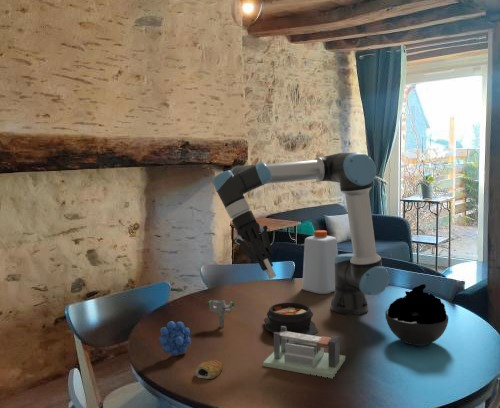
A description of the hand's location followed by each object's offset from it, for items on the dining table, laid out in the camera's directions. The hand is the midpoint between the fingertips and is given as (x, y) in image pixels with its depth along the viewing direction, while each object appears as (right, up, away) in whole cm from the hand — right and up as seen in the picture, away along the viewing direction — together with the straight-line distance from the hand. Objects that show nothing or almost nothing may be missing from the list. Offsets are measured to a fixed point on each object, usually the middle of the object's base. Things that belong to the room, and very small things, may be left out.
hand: (272, 277), depth 162 cm
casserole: (+7, -22, +17) cm, 29 cm away
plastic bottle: (+26, -16, +68) cm, 75 cm away
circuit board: (+9, -25, -11) cm, 29 cm away
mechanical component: (-18, -22, +22) cm, 36 cm away
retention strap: (+9, -18, -12) cm, 23 cm away
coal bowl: (+48, -23, +2) cm, 54 cm away
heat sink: (+10, -24, -11) cm, 28 cm away
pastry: (-20, -27, -16) cm, 37 cm away
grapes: (-31, -25, -4) cm, 40 cm away
